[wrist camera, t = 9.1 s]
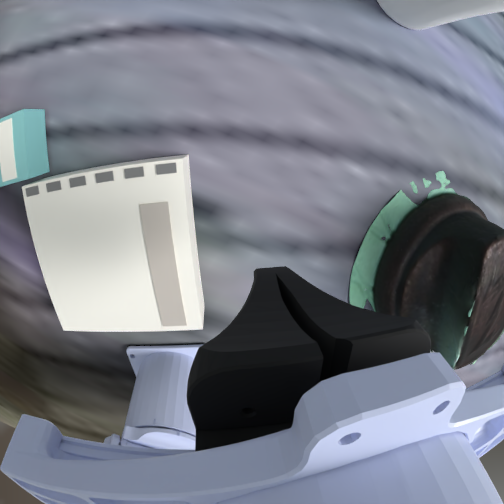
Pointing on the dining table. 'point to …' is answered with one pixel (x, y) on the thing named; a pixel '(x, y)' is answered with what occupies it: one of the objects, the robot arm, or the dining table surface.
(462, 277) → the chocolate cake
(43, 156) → the stub
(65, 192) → the ticket
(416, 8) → the mug
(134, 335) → the dining table surface
